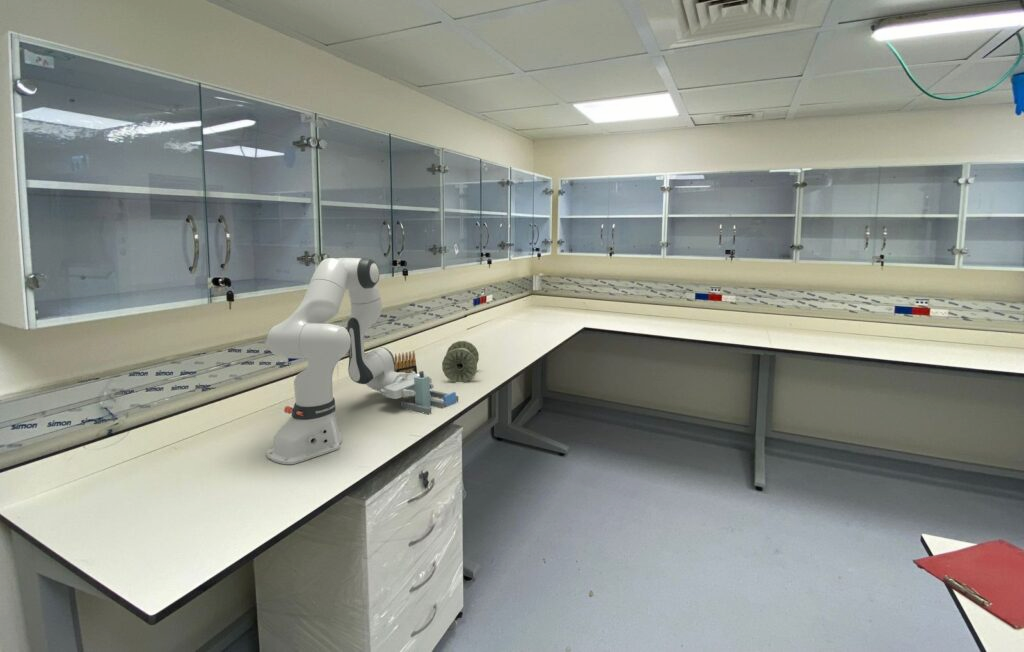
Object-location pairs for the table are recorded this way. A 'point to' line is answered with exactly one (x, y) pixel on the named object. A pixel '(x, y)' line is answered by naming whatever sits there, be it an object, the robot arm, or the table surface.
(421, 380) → the capped teal pillar
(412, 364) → the ammunition clip
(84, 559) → the table surface
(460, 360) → the spool
